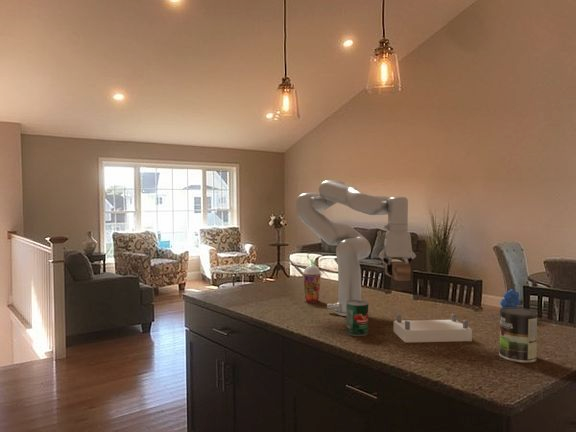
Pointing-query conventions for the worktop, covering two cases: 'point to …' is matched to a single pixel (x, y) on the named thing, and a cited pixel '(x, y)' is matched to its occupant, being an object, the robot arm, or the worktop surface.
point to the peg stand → (432, 330)
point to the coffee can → (518, 334)
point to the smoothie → (312, 282)
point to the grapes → (510, 299)
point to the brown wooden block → (399, 270)
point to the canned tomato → (357, 317)
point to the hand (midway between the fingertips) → (397, 274)
